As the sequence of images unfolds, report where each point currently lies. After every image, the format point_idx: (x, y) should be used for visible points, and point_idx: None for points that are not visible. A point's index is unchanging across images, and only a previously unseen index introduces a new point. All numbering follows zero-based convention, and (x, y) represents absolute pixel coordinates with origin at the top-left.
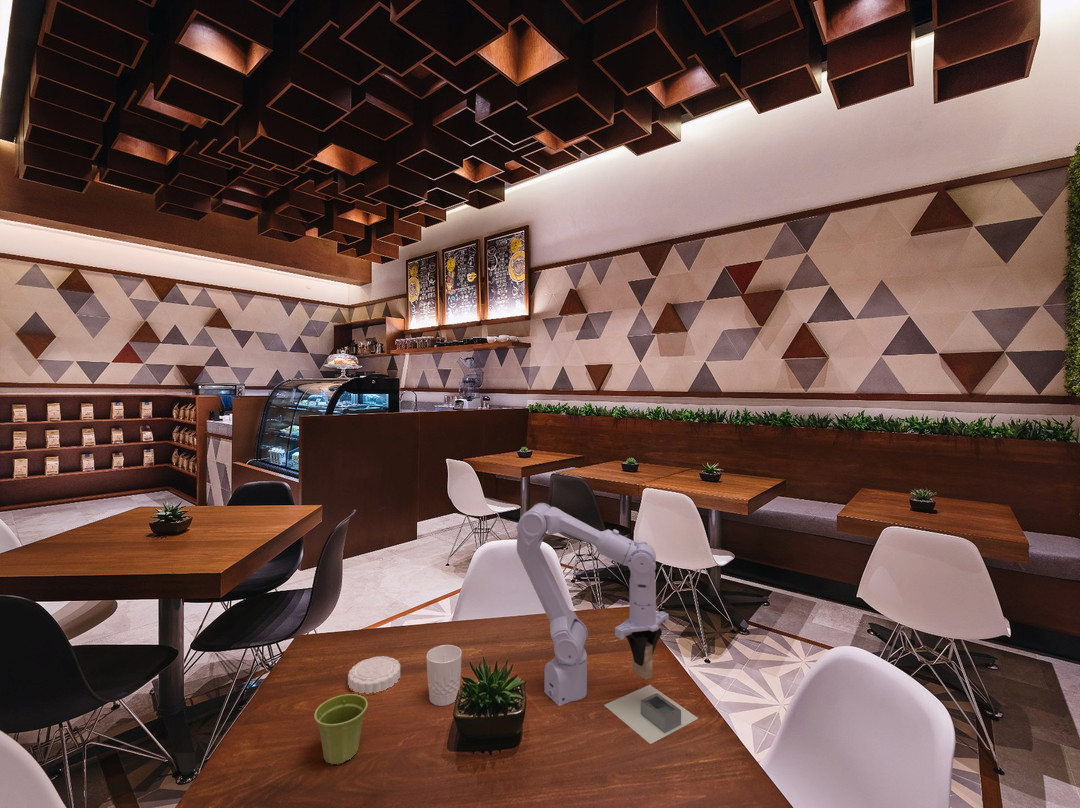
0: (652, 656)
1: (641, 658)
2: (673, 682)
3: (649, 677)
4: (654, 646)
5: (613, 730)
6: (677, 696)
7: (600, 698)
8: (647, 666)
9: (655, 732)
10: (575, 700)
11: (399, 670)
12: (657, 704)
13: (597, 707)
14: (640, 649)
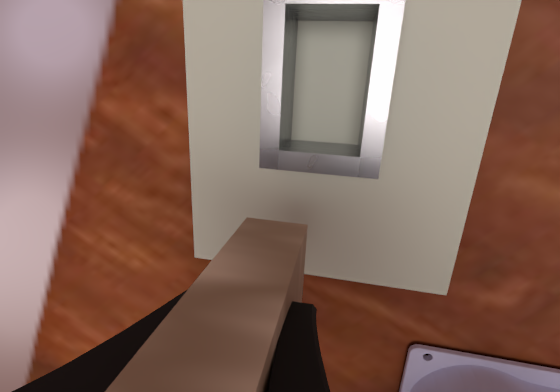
0: (163, 305)
1: (315, 352)
2: (104, 219)
3: (270, 222)
4: (65, 378)
5: (525, 181)
6: (145, 159)
7: (394, 328)
8: (272, 265)
9: (427, 31)
10: (512, 379)
11: None
12: (286, 139)
13: (448, 306)
14: None
